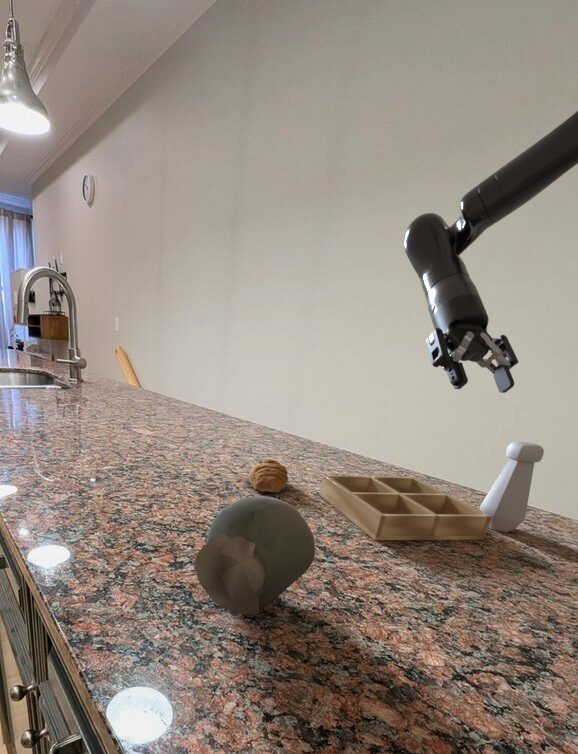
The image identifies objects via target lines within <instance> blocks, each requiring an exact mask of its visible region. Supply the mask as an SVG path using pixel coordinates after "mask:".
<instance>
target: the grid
mask: <svg viewBox="0 0 578 754" xmlns="http://www.w3.org/2000/svg"><path fill="white" fill-rule="evenodd" d="M321 479H322V480H321V484H320V489H319V493H318V495H319V496H320V497H321V498H322V499H323V500H325V501H326V502H327V503H328V504H329V505H331V506H332V507H333V508H335V509H336V510H337V511H338V512H340V514H342V515H343V516H344V517H345V518H347V520H349V521H350V522H352V523H353V524H354V525H355V526H357V527H358V528H359V529H360V530H362V531H363V532H364V533H365V534H366V535H367V536H369V537H370V538H372V539H373V541H472V540H473V541H478V540H479V541H481V540H482V541H483V540H484V539H485V537H486V534H487V531H488V529H489V528H488V526H489V523H490V520H491V518H492V516H490V515H488V514H486V513H484V512H482V511H480V509H478V508H477V507H474V506H472V505H470V504H468V503H466V502H464V501H462V500H460V499H458V498H456V497H454V496H452V495H450V494H448V493H446V492H444V491H443V490H441V489H439V488H437V487H434V486H432V485H431V484H429V483H427V482H425V481H423V480H421V479H419V478H417V477H413V476H382V475H380V476H379V475H345V474H344V475H341V474H340V475H339V474H323V475H322V478H321Z"/></svg>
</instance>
